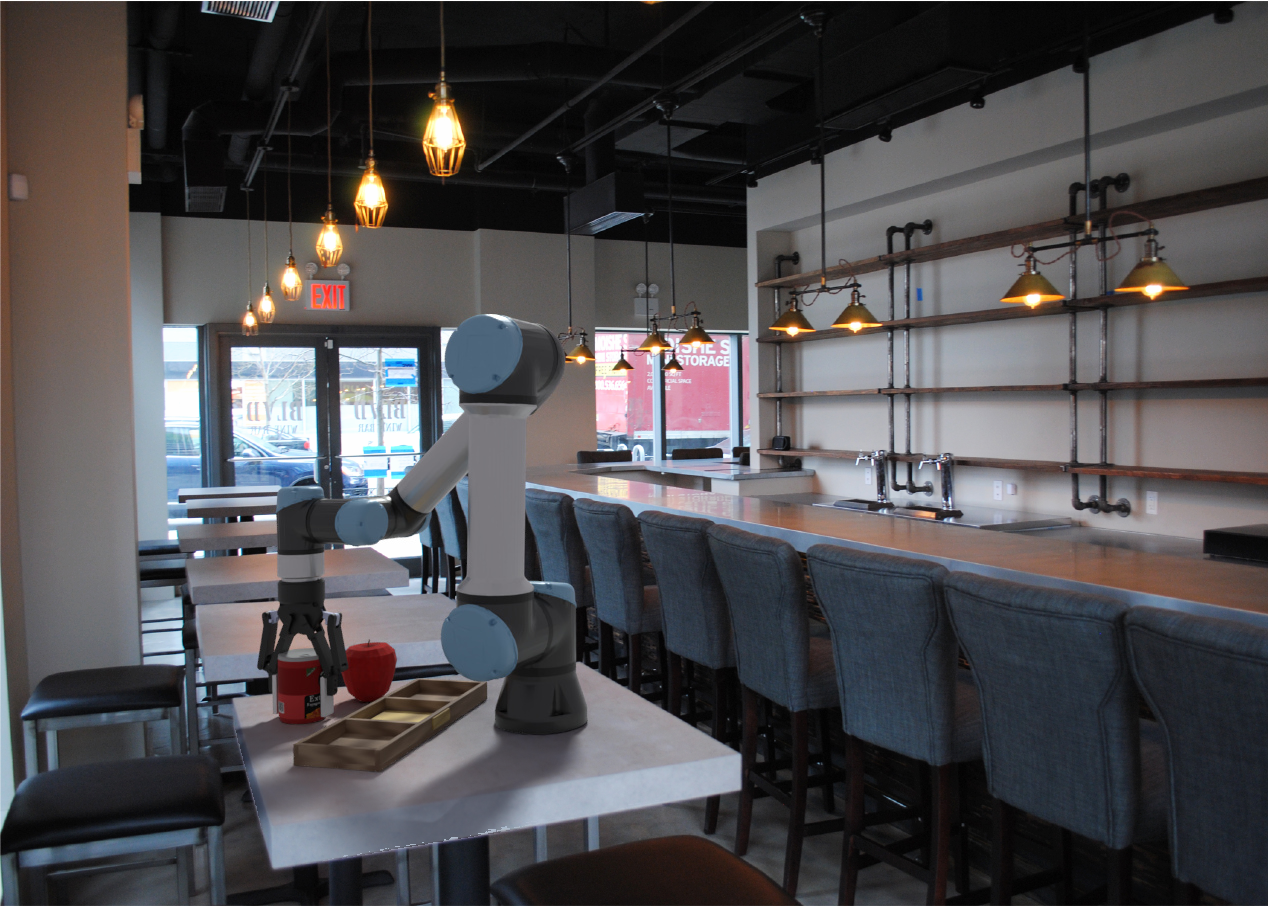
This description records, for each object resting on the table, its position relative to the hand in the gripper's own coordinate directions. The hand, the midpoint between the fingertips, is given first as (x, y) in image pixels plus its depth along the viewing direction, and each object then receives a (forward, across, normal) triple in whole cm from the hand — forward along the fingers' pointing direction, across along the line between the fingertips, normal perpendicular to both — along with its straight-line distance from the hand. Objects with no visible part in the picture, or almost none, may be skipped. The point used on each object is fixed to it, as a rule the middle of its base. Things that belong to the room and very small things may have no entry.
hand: (303, 713), depth 161 cm
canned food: (+1, 0, 0) cm, 1 cm away
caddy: (+1, -19, +2) cm, 19 cm away
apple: (+1, -5, -13) cm, 14 cm away
